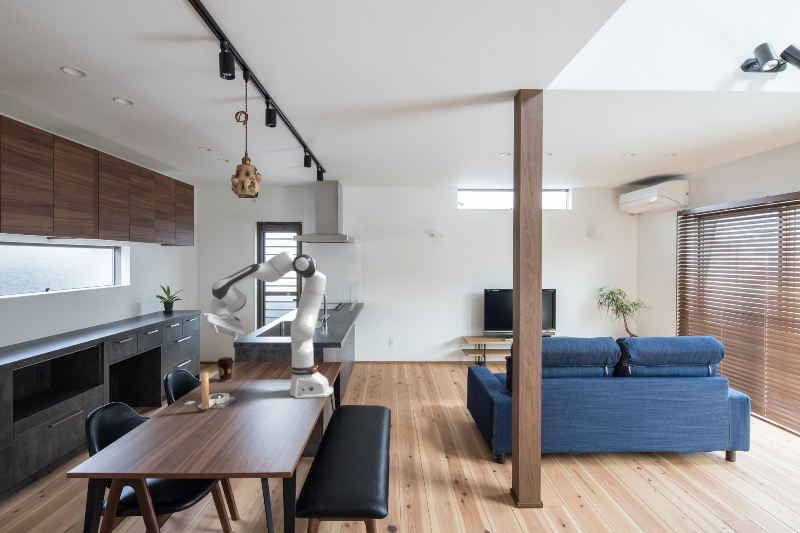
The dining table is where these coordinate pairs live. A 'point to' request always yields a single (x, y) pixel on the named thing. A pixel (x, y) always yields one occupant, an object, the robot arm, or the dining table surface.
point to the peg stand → (207, 398)
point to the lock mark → (189, 403)
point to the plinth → (220, 403)
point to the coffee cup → (225, 368)
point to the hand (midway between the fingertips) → (226, 337)
